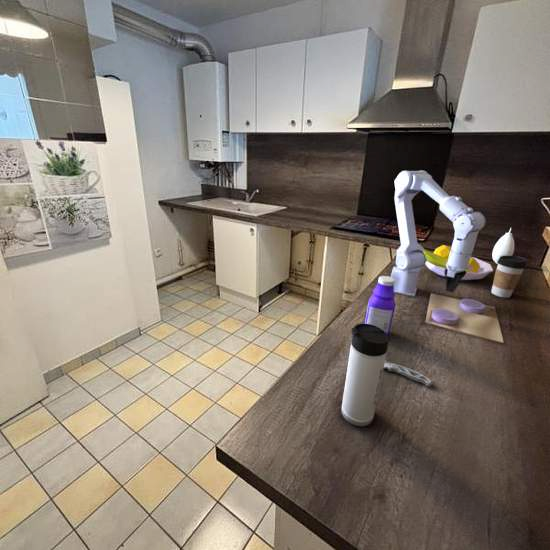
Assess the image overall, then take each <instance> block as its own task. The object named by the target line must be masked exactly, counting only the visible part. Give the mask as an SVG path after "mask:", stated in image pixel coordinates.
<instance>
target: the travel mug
mask: <svg viewBox="0 0 550 550" xmlns="http://www.w3.org/2000/svg"><path fill="white" fill-rule="evenodd" d="M350 333H351V334H352V337H351V342H350V347H349V354H348V355H349V356H348V361H347V368H346V376H345V382H344V390H343V395H342V401H341V402H342V403H341V409H340V411H341V414H342V416H343V418H344V420H346V422H348V423H350V424H352V425H354V426H357V427H367V426H369V425H370V424H371V423H372V422H373V420H374V417H375V412H376V407H377V401H378V397H379V392H380V388H381V384H382V383H381V382H382V379H383V373H384V369H385V368H384V364H385V360H387V359H386V358H387V354H388V347H389V343H390V337H389V334H388V335H387V334H386V333H384V331H383V330H382V329H381V328H379V327H376V326H374V325H370V324H365V323H357V324H355V325H354V327H352V328H351V331H350Z"/></svg>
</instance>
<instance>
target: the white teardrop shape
mask: <svg viewBox="0 0 550 550" xmlns="http://www.w3.org/2000/svg"><path fill="white" fill-rule="evenodd" d="M514 253H515V239H514V236H513V233H512V227H510V229H509V231H508V232H505V234H504V235H502V236H501V237H500V238H499V239H498V241H497V242H496V243H495V245H494V246H493V249H492V253H491V255H492V256H491V258H492V260H493V262H494V263H495V264H496V265H498V263H497V262H498V260H499V258H500V256H514Z"/></svg>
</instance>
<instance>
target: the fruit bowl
mask: <svg viewBox="0 0 550 550" xmlns="http://www.w3.org/2000/svg"><path fill="white" fill-rule="evenodd" d="M451 247H452V246H449V245H445V244H442V245H440V246H439V247H436V248H435V250H434V251H433V252H432V251H429V250H426V249H425V248H424V247H423V252H424V253H425V255H426V258H427V261H426V264H425V265H424V266H426V268H427V269H428V270H430V271H432V272H433V273H435V274H437V275H438V276H440V277H441V276H442V277H445V274H444V271H445V269H447V267H446V263H447V262H448V258H449V255H450V251H451ZM468 266H469V267H472V270H471V271H468V270H466V272H467V273H466V274H465V276H464V277H463V278H462V279H461V280H460V281H474V280H482V279H483V278H485V277H486V276H488V275H490V274H491V273H492V272H494V268H493V267H492V265H491V264H490V263H488V262H486V261H484V260H482V259H479V258H477V257H474V256H471V258H470V262H469V265H468Z"/></svg>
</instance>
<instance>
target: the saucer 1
mask: <svg viewBox="0 0 550 550" xmlns="http://www.w3.org/2000/svg"><path fill="white" fill-rule="evenodd" d="M431 317H432V318H433V319H434V320H435V321H437V322H439V323H442V324H446V325H454V324H456V323H457V320H458V315H457V314H456V313H454V312H452V311H450V310H447V309H442V308H437V309H434V310H433V311H432V315H431Z"/></svg>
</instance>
